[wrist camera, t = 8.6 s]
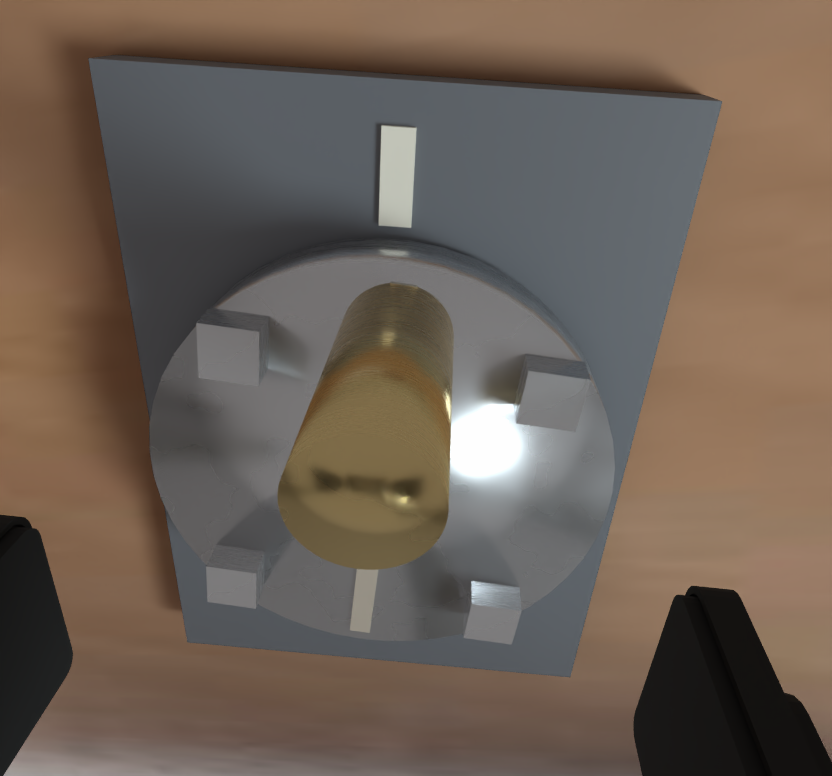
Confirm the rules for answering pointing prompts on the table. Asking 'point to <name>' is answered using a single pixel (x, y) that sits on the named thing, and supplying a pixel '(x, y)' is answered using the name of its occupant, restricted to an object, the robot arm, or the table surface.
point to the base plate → (404, 220)
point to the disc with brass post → (383, 443)
